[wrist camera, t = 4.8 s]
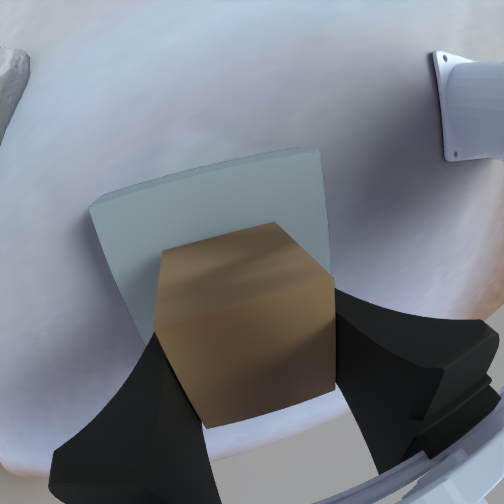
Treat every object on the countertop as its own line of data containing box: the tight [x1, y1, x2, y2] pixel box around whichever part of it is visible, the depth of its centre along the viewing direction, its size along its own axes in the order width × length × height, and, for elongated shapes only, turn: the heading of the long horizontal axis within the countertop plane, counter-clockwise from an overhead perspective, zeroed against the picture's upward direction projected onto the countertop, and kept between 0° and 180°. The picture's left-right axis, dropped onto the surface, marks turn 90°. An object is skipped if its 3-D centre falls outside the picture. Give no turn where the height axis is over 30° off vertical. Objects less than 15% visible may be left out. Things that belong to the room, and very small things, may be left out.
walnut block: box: [153, 221, 336, 429], centre depth 10 cm, size 4×4×5 cm
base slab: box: [88, 147, 331, 346], centre depth 15 cm, size 10×10×3 cm
